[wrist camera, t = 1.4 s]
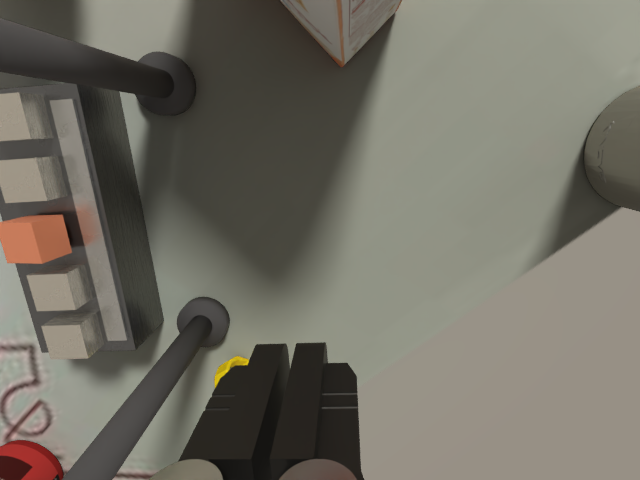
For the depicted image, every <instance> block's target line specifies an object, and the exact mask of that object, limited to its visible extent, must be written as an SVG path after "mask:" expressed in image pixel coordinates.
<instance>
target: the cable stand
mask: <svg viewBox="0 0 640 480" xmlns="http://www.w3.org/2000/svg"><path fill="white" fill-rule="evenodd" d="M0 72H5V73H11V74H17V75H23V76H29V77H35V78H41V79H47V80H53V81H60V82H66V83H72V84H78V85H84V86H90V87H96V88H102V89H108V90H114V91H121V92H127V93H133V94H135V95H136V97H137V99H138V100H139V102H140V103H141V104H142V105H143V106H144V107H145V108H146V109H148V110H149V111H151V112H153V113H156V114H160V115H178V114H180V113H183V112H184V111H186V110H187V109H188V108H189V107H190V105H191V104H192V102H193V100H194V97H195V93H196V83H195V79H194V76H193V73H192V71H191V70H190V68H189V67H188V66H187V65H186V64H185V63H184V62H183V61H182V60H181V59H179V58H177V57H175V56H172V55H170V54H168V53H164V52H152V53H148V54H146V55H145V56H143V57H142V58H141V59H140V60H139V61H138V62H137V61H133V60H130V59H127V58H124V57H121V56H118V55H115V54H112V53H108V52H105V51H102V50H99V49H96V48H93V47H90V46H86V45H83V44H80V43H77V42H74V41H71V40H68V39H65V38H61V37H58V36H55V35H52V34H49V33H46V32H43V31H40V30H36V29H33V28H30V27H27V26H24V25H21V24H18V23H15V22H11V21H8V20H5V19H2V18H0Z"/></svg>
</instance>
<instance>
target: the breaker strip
mask: <svg viewBox="0 0 640 480" xmlns="http://www.w3.org/2000/svg"><path fill="white" fill-rule="evenodd" d="M0 213H1V217H2V220H3V221H7V220H11V219H16V218H20V217H24V216H28V215H63V218H64V222H65V226H66V230H67V234H68V238H69V242H70V246H71V250H72V253H70V254H67V255H64V256H62V257H59V258H56V259H54V260H51V261H48V262H45V263H43V264H32V263H15V264H16V267H17V271H18V274H19V277H20V281H21V284H22V287H23V291H24V294H25V297H26V301H27V304H28V308H29V311H30V314H31V318H32V321H33V324H34V328H35V331H36V334H37V338H38V341H39V345H40V348H41V351H42V353H43V352H49V355H50V358H51V359H87V358H90V357H91V356H92V355H93V354H94V353H95V352H96V351H121V350H136V349H137V348H138V347H139V346H140V345H141V344H142V343H143V342H144V341H145V340H146V339H147V338H148V337H149V336H150V335H151V333H152V332H153V331H154V330H155V329H156V328H157V327H158V326H159V325H160V324H161V323H162V322H163V321H164V319H163V314H162V308H161V303H160V298H159V293H158V288H157V283H156V278H155V273H154V268H153V262H152V257H151V252H150V247H149V242H148V237H147V232H146V227H145V222H144V216H143V211H142V206H141V201H140V196H139V191H138V186H137V181H136V175H135V170H134V165H133V160H132V155H131V150H130V145H129V140H128V135H127V129H126V124H125V119H124V114H123V109H122V104H121V99H120V94H119V91H114V90H108V89H102V88H96V87H90V86H84V85H78V84H72V83H64V84H52V85H40V86H28V87H17V88H5V89H0Z"/></svg>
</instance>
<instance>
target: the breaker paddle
mask: <svg viewBox="0 0 640 480" xmlns="http://www.w3.org/2000/svg"><path fill="white" fill-rule="evenodd" d="M0 240H1V243H2V247H3V250H4V253H5V256H6V260H7V263H32V264H43V263H45V262H48V261H51V260H54V259H56V258H59V257H62V256H64V255H67V254H70V253H72V250H71V246H70V242H69V238H68V234H67V230H66V226H65V222H64V218H63V215H28V216H24V217H20V218H16V219H11V220H7V221H3V222H0Z"/></svg>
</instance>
